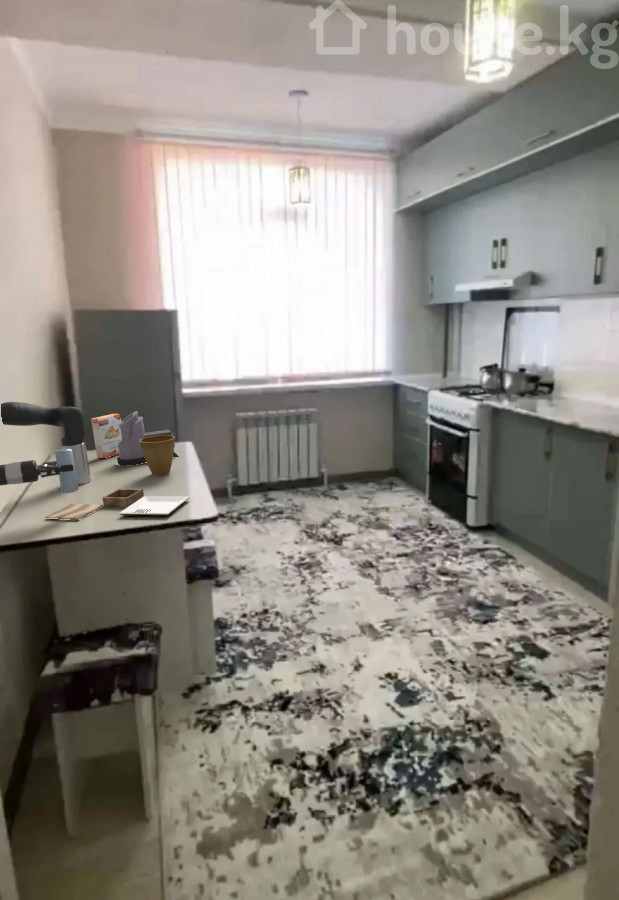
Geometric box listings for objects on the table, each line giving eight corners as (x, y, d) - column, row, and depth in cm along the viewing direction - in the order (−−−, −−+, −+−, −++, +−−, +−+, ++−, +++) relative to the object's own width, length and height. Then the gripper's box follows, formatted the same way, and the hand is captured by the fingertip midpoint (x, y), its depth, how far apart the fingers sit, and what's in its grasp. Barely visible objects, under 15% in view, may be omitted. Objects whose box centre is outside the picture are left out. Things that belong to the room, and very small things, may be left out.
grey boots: (116, 468, 268) (108, 417, 262) (113, 461, 282) (106, 412, 277) (180, 458, 279) (173, 408, 273) (174, 452, 293) (168, 404, 287)
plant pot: (149, 480, 243) (144, 444, 239) (140, 473, 255) (135, 438, 252) (183, 473, 250) (178, 438, 246) (173, 467, 263) (168, 433, 259)
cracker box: (104, 459, 287) (98, 418, 283) (96, 458, 291) (90, 418, 286) (126, 452, 299) (120, 413, 294) (118, 452, 302) (112, 413, 297)
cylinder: (58, 491, 205) (51, 451, 201) (73, 487, 209) (66, 447, 205) (66, 493, 201) (59, 452, 198) (81, 489, 205) (74, 449, 202)
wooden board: (45, 519, 202) (44, 517, 202) (71, 506, 215) (71, 503, 215) (78, 521, 198) (78, 518, 198) (103, 507, 211) (102, 504, 211)
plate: (190, 501, 212) (190, 495, 212) (168, 519, 194) (167, 513, 194) (144, 500, 216) (144, 495, 216) (118, 518, 199) (118, 513, 198)
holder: (103, 506, 212) (102, 497, 211) (120, 497, 222) (119, 488, 221) (128, 507, 209) (127, 498, 208) (144, 498, 219) (143, 489, 218)
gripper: (26, 477, 206) (76, 470, 211) (20, 488, 193) (74, 480, 198) (22, 457, 204) (73, 451, 209) (16, 466, 191) (70, 459, 196)
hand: (73, 465), depth 204 cm, fingers closed on cylinder, 5 cm apart
